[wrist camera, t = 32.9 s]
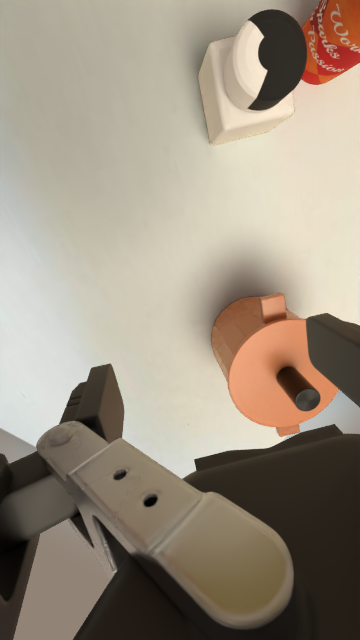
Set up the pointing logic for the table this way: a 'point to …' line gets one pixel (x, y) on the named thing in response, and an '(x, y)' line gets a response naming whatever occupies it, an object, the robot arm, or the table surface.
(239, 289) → the table surface
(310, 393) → the lid
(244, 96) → the medicine bottle
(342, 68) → the coffee cup
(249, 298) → the pot
